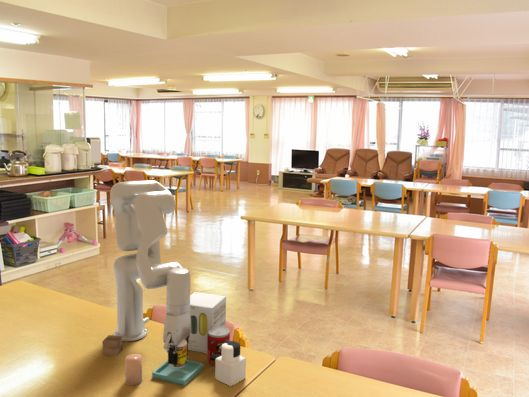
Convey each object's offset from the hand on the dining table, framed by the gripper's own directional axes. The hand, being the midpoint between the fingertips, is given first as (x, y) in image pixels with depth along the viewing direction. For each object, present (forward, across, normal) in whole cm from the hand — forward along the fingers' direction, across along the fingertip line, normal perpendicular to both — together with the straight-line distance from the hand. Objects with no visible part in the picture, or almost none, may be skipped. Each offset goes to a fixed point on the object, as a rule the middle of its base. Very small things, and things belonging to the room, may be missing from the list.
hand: (178, 359), depth 154 cm
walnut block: (+5, -3, -29) cm, 29 cm away
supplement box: (+5, -22, -3) cm, 23 cm away
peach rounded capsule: (+5, +10, -10) cm, 15 cm away
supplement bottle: (+2, 0, 0) cm, 2 cm away
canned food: (+5, -13, +8) cm, 16 cm away
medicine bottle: (+5, -4, +17) cm, 18 cm away
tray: (+5, 0, 0) cm, 5 cm away
